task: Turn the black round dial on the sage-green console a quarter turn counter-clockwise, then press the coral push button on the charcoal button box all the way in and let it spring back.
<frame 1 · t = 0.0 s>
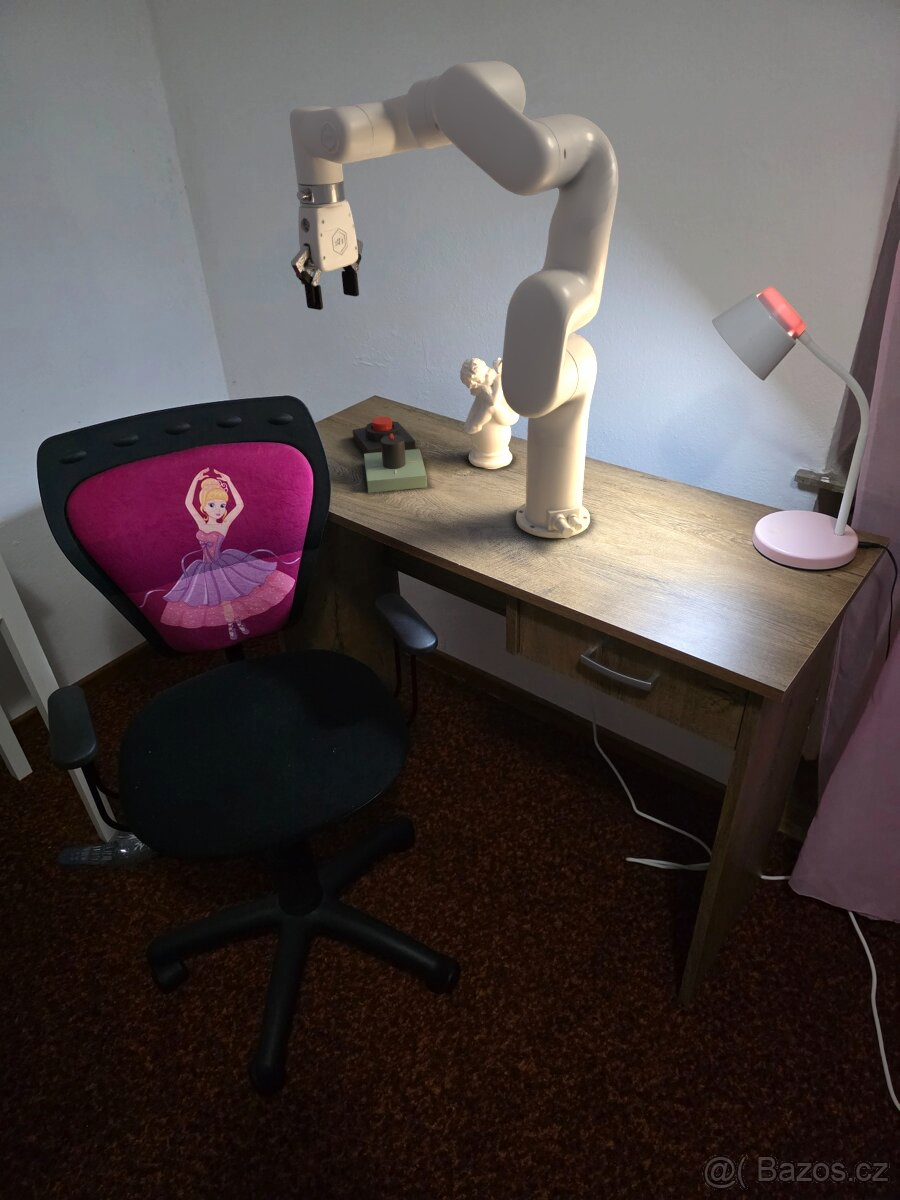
hand: (333, 301, 141), 31 cm above the table, tool pointing down, fingers open, 9 cm apart
button: (382, 424, 163), point 4 cm above the table, slide at 0.1 cm
button box: (384, 444, 166), on the table
dial: (393, 451, 151), point 5 cm above the table, hinge at 0.0°
cherub figurine: (495, 457, 160), on the table
console: (395, 476, 154), on the table
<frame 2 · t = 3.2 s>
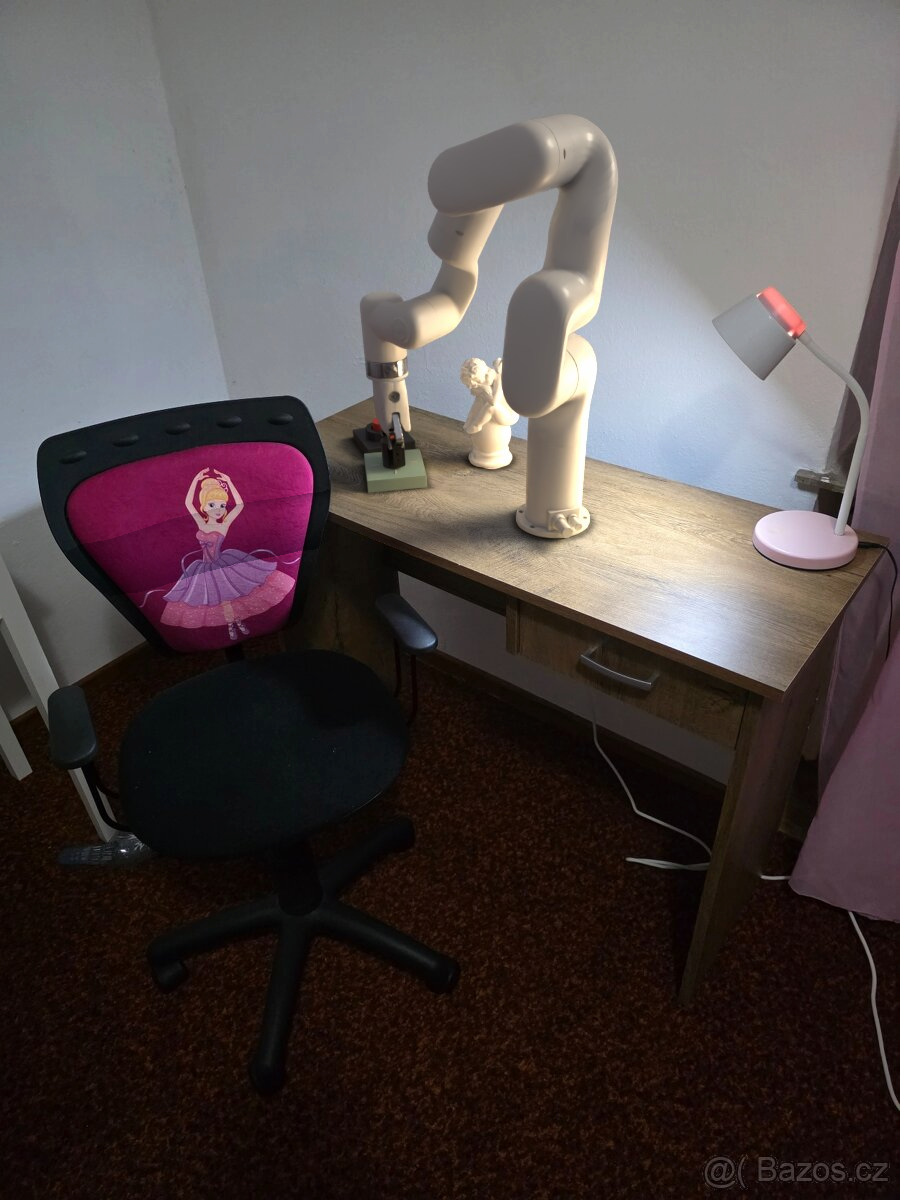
hand: (393, 460, 152), 3 cm above the table, tool pointing down, fingers closed on dial, 4 cm apart
dial: (393, 451, 151), point 5 cm above the table, hinge at -0.2°, touching gripper
everything else where it was.
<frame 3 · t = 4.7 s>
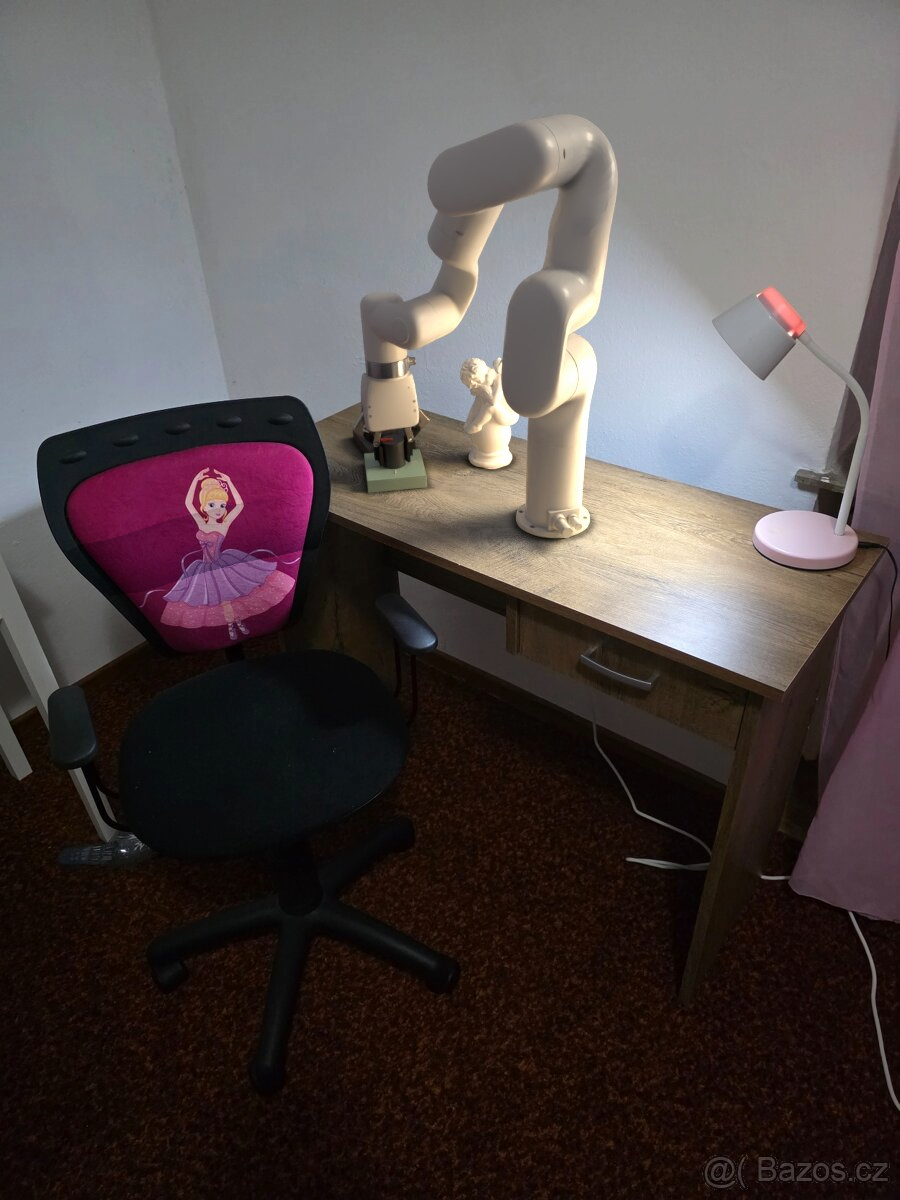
hand: (393, 460, 152), 3 cm above the table, tool pointing down, fingers closed on dial, 4 cm apart
dial: (393, 451, 151), point 5 cm above the table, hinge at 89.6°, touching gripper
everything else where it was.
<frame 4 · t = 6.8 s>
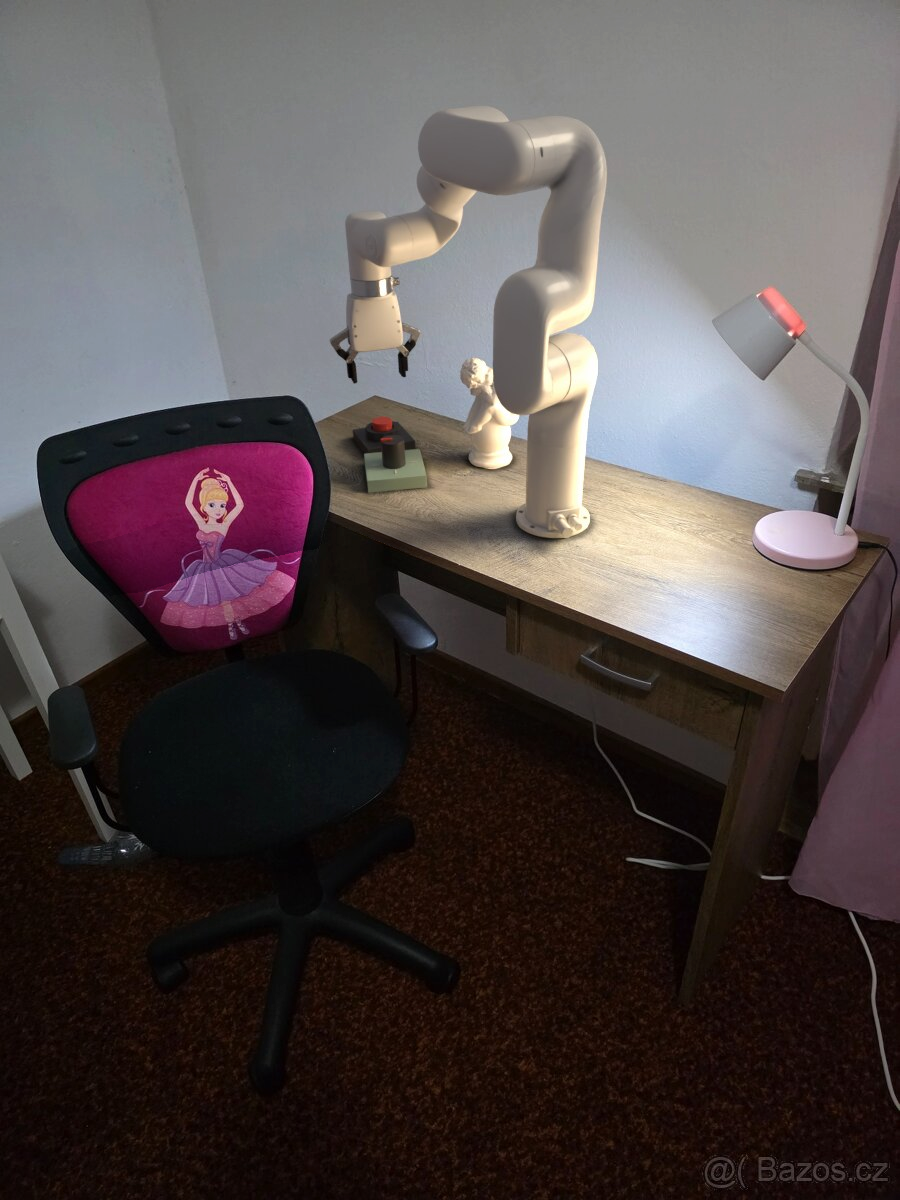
hand: (378, 378, 156), 15 cm above the table, tool pointing down, fingers open, 9 cm apart
dial: (393, 451, 151), point 5 cm above the table, hinge at 90.2°
everything else where it was.
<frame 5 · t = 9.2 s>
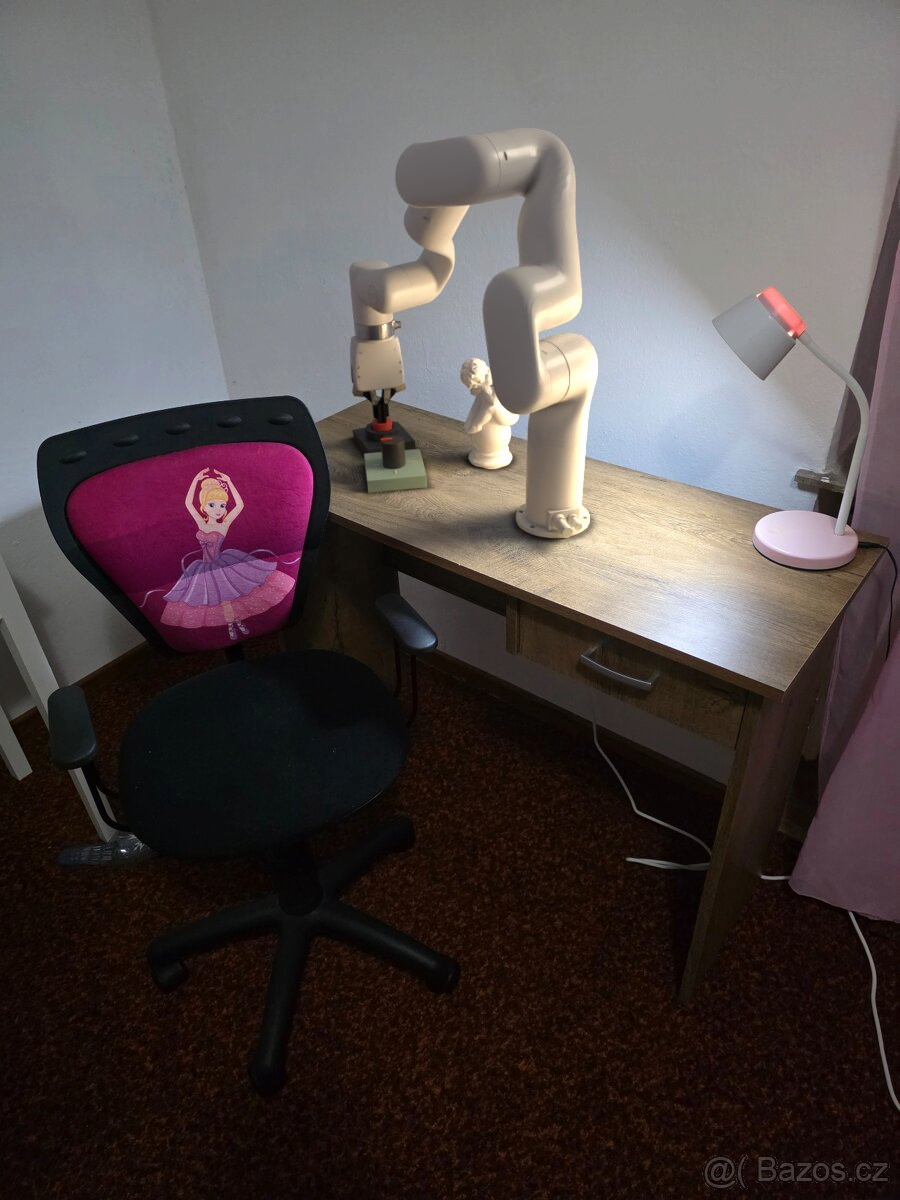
hand: (381, 420, 163), 5 cm above the table, tool pointing down, fingers closed
button: (382, 424, 164), point 4 cm above the table, slide at 0.0 cm, touching gripper
everything else where it was.
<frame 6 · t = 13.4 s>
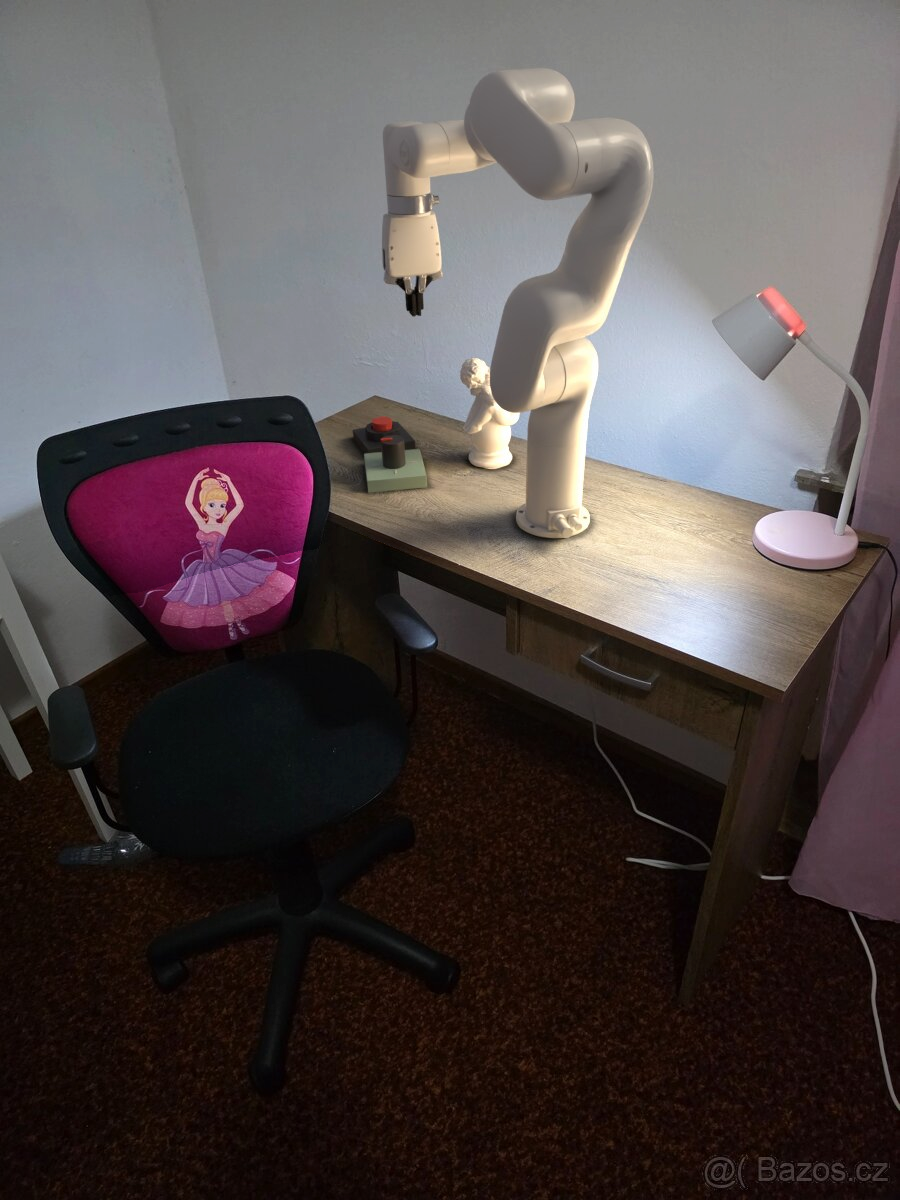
hand: (415, 314, 148), 27 cm above the table, tool pointing down, fingers closed
button: (382, 424, 163), point 4 cm above the table, slide at 0.1 cm
everything else where it was.
at the end: dial at +90° (first picture: +0°); button pushed in 1.1 cm at the most during the clip, back to where it started at the end; button slide at 0.1 cm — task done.
